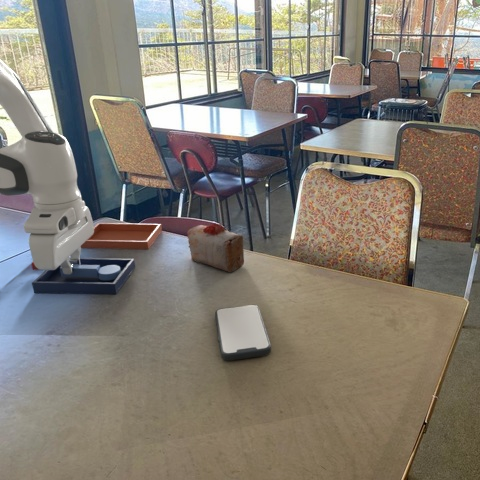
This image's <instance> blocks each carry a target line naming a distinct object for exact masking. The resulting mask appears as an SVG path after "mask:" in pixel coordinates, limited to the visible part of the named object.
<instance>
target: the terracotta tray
mask: <svg viewBox="0 0 480 480" xmlns="http://www.w3.org/2000/svg"><path fill="white" fill-rule="evenodd" d="M162 232H163V228H162V223H132V222H131V223H130V222H128V223H127V222H126V223H124V222H97V223H96V224H95V225H94V234H93V235H92V236H91V237H90V238H89V239H88V240H86V241H85V242H84V243H83V244H82V245H81V249H112V250H117V249H119V250H149V249H150V248H151V247H152V245H153V244H154V242H155V241H156V240H157V238H158V237H159V236H160V234H161V233H162Z"/></svg>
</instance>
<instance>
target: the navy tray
mask: <svg viewBox="0 0 480 480" xmlns="http://www.w3.org/2000/svg"><path fill="white" fill-rule="evenodd" d="M80 262H81V264H80V265H100V268H101V267H104V266H107V265H117V266H119V267H120V270H121V273H120V274H119V276H118V277H117V278H116V279H114V280H109V281H104V280H101V279H99V277H61V272H60V267H61V266H59V267H57V268H56V269H55V270H43V272H42V273H41V274H40V275H38V276H37V277H36V278H35V279H34V280H33V281H32V282H31V286H32V290H33V293H34V294H67V295H68V294H71V295H72V294H73V295H75V294H77V295H117V294H118V293H119V292H120V290H121V289H122V287H123V286H124V284H125V283H126V282H127V281H128V279H129V278H130V276H131V273H132V272H133V271H134V269H136V263H135V258H106V257H105V258H103V257H80Z"/></svg>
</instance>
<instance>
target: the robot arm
mask: <svg viewBox="0 0 480 480" xmlns="http://www.w3.org/2000/svg"><path fill="white" fill-rule="evenodd" d="M0 106H1V107H2V108H3V109H4V112H6V114H7V115H8V117H9V119H10V121H11V122H12V123H13V125H14V127H15V128H16V130H17V131H18V133H19V134H20V136H21V139H19V140H18V141H16V142H14V143H12V144H9V145H7V146H4V147H1V148H0V195H3V196H8V197H9V196H10V197H11V196H21V195H25V194H28V195H30V196H32V199H33V200H32V202H33V205H34V207H32V209H31V212H30V214H29V215H28V217H27V219H26V220H25V221H24V224H23V230H24V232H25V233H26V234H29V236H28V246H29V251H30V255H31V258H32V262H34V265H35V266H36V267H37V268H38V269H39V270H38V271H45V270H55V269H56V268H57V267H59V266H61V267H62V270H63V273H64V274H69V275H70V274H71V273H72V272H73V271H74V266H73V265H80V264H81V262H80V258H81V254H82V248H81V245H82V244H83V243H84V242H85V241H86V240H88V239H89V238H90V237H91V236H92V235H93V234H94V226H95V225H94V220H93V217H92V214H91V213H92V212H91V211H90V209H89V207H88V206H86V202H85V200H83V197H82V194H81V190H80V189H79V186H78V170H77V165H76V161H75V157H74V154H73V150H72V148H71V145H70V143H69V142H68V140H67V138H66V137H65V136H63V135H62V134H59V133H57V132H54V131H53V130H52V128H51V127H50V125H49V123H48V122H47V120H46V118H45V116H44V115H43V113H42V112H41V110H40V108H39V107H38V106H37V104H36V102H35V99H33V97H32V95H31V94H30V93H29V91H28V89H27V87H26V85H24V83H23V81H22V80H21V79H20V77H19V76H18V74H17V73H16V72H15V71H14V70H13V69H12V68H11V67H10V66H8V65H6V63H4V62H3V61H2V59H0Z"/></svg>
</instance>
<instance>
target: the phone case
mask: <svg viewBox="0 0 480 480" xmlns="http://www.w3.org/2000/svg"><path fill="white" fill-rule="evenodd" d="M214 316H215V323H216V330H217V340H218V341H217V342H218V343H219V344H218V345H219V350H220V357H221V359H222V360H223V361H227V362H229V361H235V360H236V361H237V360H243V359H249V358H257V357H265V356H267V355H269V354H271V352H272V344H271V342H270V337H269V334H268V331H267V329H266V325H265V322H264V320H263V316H262V313H261V310H260V307H259V306H258V305H257V304H247V305H239V306H230V307H229V306H228V307H222V308H218V309H216V310H215V312H214Z"/></svg>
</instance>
